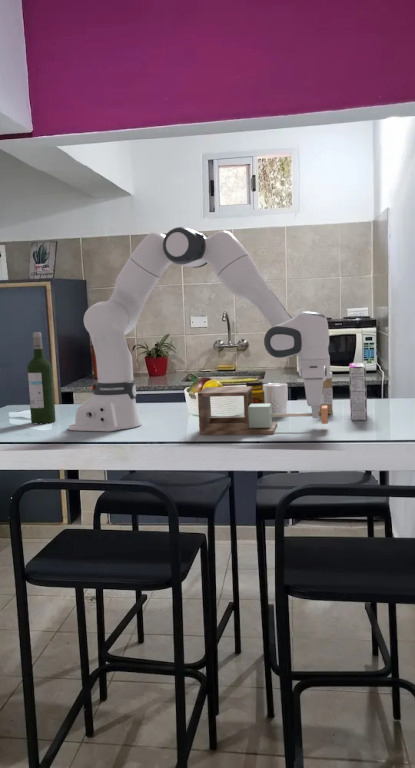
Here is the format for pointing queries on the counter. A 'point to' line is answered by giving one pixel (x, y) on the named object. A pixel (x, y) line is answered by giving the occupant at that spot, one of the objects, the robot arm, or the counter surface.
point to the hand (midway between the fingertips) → (315, 417)
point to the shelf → (227, 424)
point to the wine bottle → (40, 385)
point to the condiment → (256, 392)
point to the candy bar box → (358, 391)
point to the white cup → (276, 396)
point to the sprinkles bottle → (327, 394)
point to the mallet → (275, 415)
